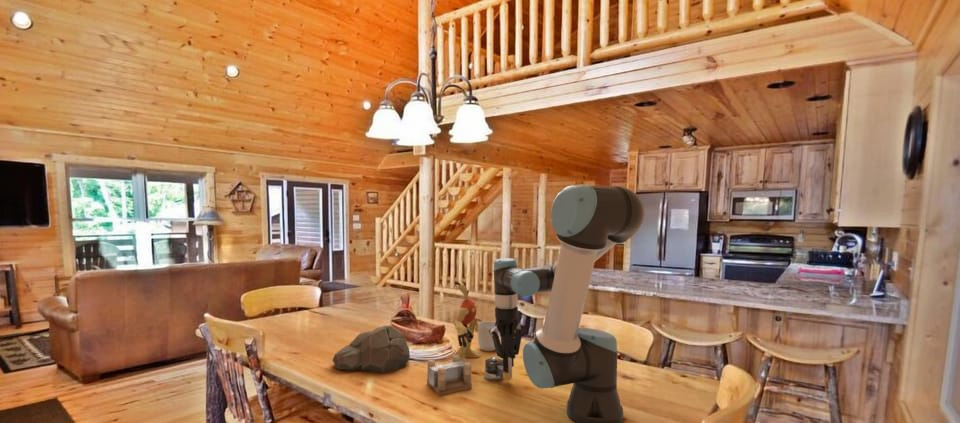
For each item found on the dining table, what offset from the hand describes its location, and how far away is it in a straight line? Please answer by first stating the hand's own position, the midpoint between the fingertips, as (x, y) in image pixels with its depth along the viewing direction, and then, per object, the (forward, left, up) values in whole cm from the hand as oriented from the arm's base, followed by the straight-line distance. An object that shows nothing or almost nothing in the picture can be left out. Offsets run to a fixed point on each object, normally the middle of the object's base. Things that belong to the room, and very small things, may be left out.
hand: (508, 377), depth 137 cm
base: (+6, +2, -2) cm, 7 cm away
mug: (+33, -13, -2) cm, 36 cm away
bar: (+7, +18, 0) cm, 20 cm away
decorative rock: (+39, +33, -2) cm, 51 cm away
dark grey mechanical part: (+3, +2, +1) cm, 3 cm away
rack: (+7, +18, -2) cm, 20 cm away
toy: (+22, +4, -2) cm, 22 cm away
